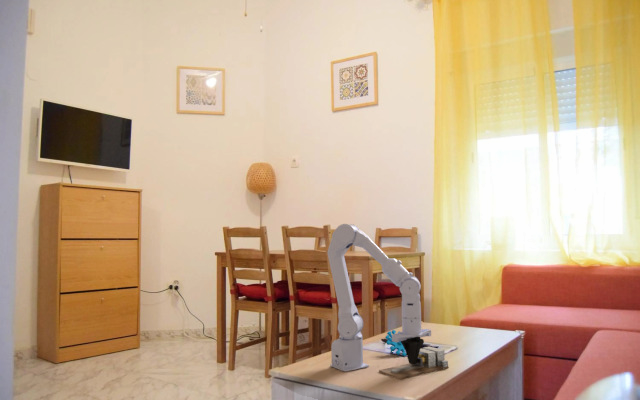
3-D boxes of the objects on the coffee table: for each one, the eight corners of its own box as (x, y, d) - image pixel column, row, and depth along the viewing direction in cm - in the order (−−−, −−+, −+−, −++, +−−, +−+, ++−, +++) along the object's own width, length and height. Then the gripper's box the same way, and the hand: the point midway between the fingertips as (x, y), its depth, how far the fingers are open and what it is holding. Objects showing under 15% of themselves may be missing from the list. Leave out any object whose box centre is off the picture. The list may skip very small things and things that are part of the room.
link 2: (442, 367, 145) (441, 352, 145) (422, 362, 151) (422, 347, 152) (449, 365, 146) (448, 351, 147) (429, 360, 153) (429, 346, 153)
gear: (394, 353, 158) (383, 328, 165) (385, 364, 161) (374, 338, 169) (420, 354, 163) (408, 329, 171) (411, 364, 166) (400, 339, 174)
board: (400, 379, 135) (400, 375, 135) (378, 372, 143) (378, 368, 143) (448, 367, 147) (448, 363, 147) (426, 361, 154) (426, 357, 154)
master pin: (420, 366, 143) (420, 358, 143) (410, 363, 147) (410, 355, 147) (443, 361, 149) (443, 353, 149) (432, 358, 152) (432, 350, 153)
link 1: (428, 368, 144) (428, 353, 144) (409, 363, 150) (409, 348, 151) (435, 366, 146) (435, 352, 146) (416, 361, 152) (416, 347, 152)
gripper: (403, 321, 138) (404, 370, 137) (438, 316, 146) (439, 362, 145) (386, 318, 144) (387, 365, 143) (421, 313, 152) (422, 357, 151)
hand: (412, 363), depth 145 cm, fingers closed
